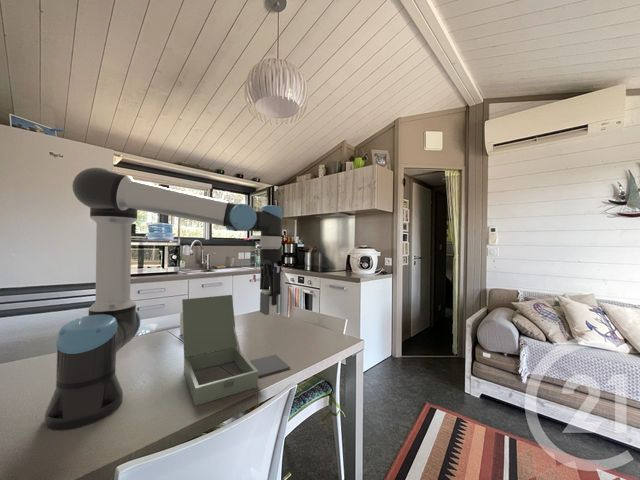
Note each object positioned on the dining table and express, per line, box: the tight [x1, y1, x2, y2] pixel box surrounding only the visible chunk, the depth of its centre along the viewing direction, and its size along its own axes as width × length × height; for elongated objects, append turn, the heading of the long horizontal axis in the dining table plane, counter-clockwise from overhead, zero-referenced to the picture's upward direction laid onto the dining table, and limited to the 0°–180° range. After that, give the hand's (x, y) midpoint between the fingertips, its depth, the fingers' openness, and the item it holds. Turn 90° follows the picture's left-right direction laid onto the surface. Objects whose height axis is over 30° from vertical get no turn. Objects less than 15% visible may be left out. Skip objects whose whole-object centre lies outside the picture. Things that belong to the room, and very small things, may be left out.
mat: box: [249, 354, 291, 379], centre depth 96 cm, size 12×12×1 cm
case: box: [181, 294, 259, 407], centre depth 89 cm, size 18×31×23 cm, turn 35°
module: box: [259, 288, 280, 316], centre depth 96 cm, size 5×5×8 cm
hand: (269, 311), depth 96 cm, fingers closed on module, 5 cm apart
